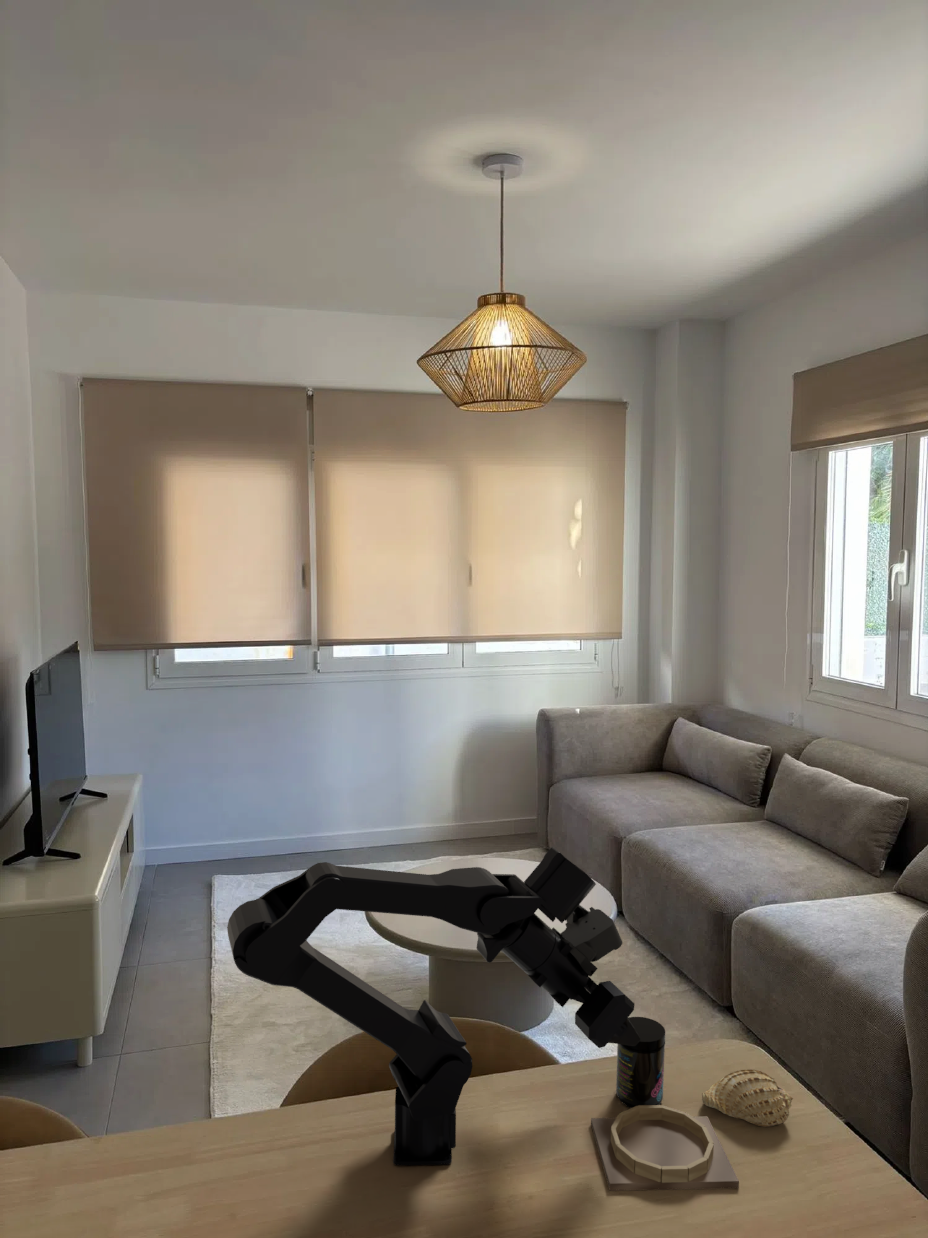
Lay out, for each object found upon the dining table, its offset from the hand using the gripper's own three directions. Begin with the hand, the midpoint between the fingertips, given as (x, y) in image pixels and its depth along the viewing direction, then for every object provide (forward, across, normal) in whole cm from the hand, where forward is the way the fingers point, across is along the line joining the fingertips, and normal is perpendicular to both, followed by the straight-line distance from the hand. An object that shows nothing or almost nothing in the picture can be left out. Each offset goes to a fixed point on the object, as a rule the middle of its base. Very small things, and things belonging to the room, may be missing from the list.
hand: (617, 1022), depth 111 cm
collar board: (+8, -10, +7) cm, 14 cm away
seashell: (+18, -7, -2) cm, 19 cm away
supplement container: (+10, 0, +5) cm, 11 cm away
